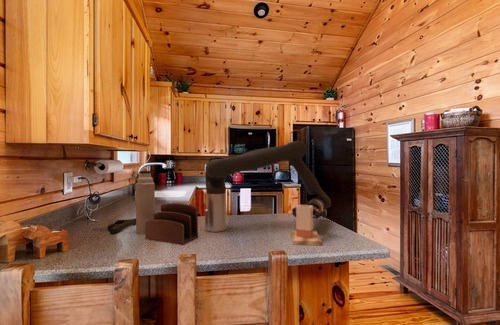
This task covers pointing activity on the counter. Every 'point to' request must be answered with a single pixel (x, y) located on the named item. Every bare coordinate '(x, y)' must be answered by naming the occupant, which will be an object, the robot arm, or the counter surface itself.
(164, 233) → the letter holder
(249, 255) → the counter surface
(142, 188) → the thermos bottle
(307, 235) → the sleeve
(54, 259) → the counter surface
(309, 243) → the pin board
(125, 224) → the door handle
